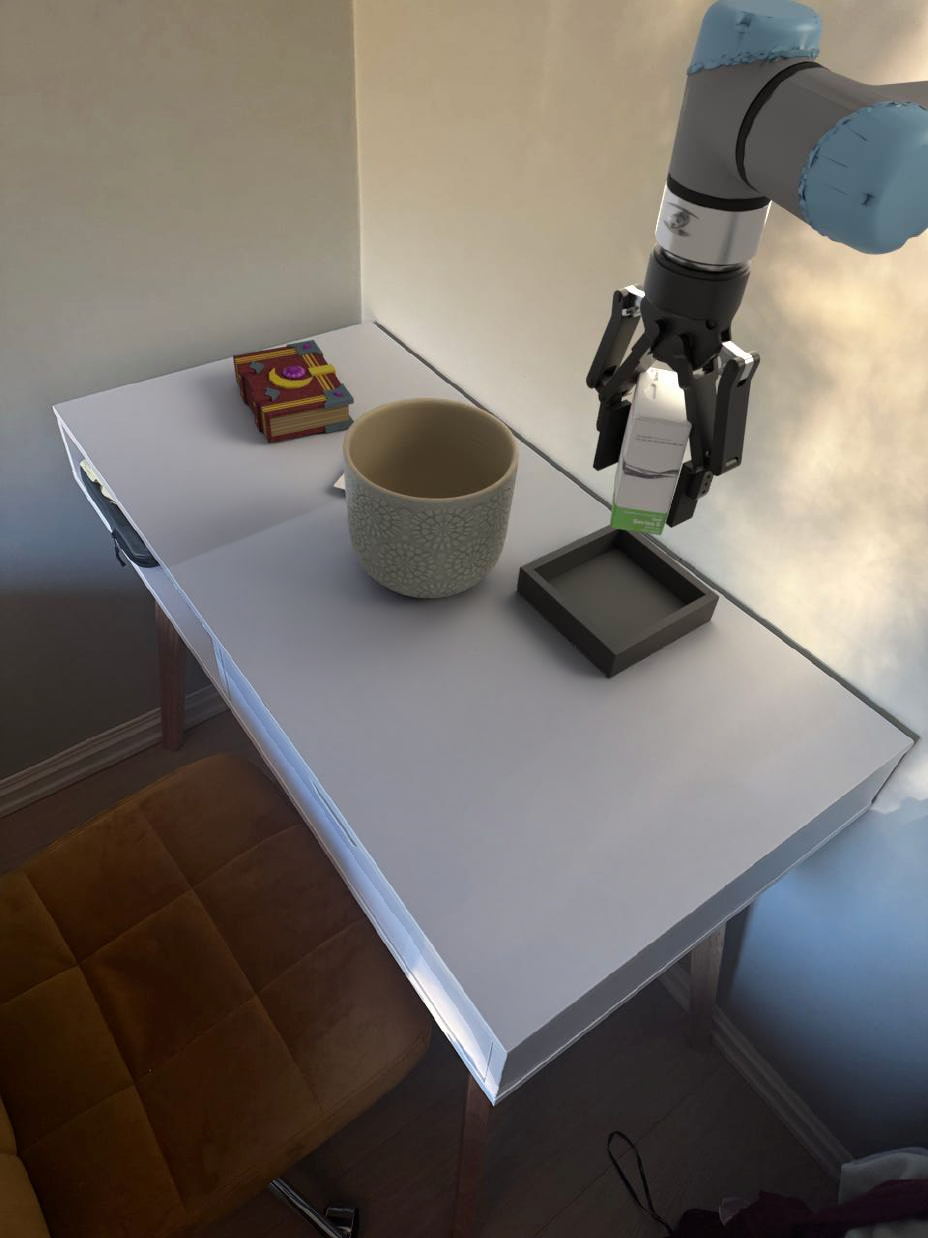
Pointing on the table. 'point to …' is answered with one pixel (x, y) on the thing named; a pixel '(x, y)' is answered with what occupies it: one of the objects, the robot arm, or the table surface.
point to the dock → (616, 597)
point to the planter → (429, 494)
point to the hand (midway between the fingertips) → (641, 491)
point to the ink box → (650, 453)
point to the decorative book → (292, 391)
